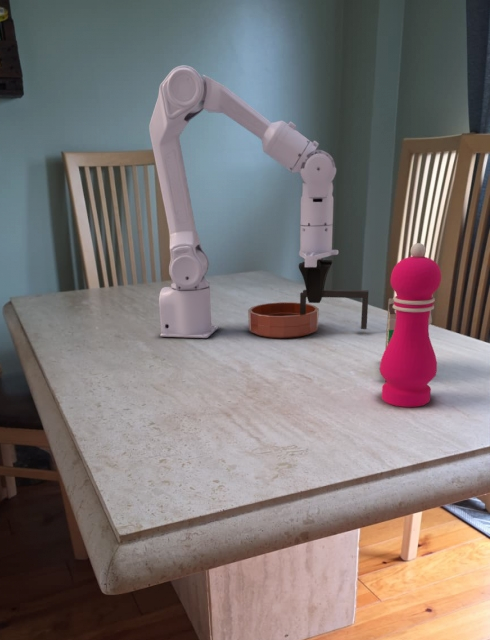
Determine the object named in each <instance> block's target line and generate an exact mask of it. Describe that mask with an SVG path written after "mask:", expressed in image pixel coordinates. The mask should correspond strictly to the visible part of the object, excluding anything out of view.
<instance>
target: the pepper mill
mask: <svg viewBox="0 0 490 640" xmlns="http://www.w3.org/2000/svg"><path fill="white" fill-rule="evenodd" d="M426 251H427V250H426V247H425V245H424V244H423V243H421V242H417V243H414V244H413V245H412V246H411V247H410V255H411V256H408V257H405V258H403V259H401V260H400V261H398V262H397V263H396V264H395V265H394V267H393V269H392V271H391V275H390V286H391V288H392V289H393V291H394V292H395V294H396V295H395V296H394V297H393V298H392V299H393V300H394V305H393V308H394V309H395V310H396V323H395V329H394V332H393V335H392V338H391V340H390V342H389V344H388V346H387V348H386V347H385V348H386V349H384V351H383V354H382V356H381V359H380V365H379V372H380V375H381V376H382V378H383V379H384V381H385V380H386V382H385V383H383V385H382V386H381V399H382V401H383V402H384V403H386V404H388V405H392V406H395V407H403V408H415V407H416V408H417V407H422V406H425V405H427V404H429V402H430V400H431V391H432V388H431V386H430V385H429V383H430V382H431V381H432V380H434V378H435V377H436V375H437V372H438V369H437V368H438V360H437V356H436V353H435V350H434V347H433V344H432V342H431V338H430V332H429V327H430V326H429V325H430V324H429V315H430V311H432V310H434V309H435V305H434V302H435V300H436V298H435V296H433V295H434V293H436V292H437V290H438V289H439V287H440V285H441V282H442V271H441V268H440V266H439V264H438V263H437V262H436V261H435V260H433V259H432V258H430V257H426V256H425V254H426Z"/></svg>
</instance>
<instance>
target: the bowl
mask: <svg viewBox="0 0 490 640" xmlns="http://www.w3.org/2000/svg"><path fill="white" fill-rule="evenodd" d="M247 314H248V315H247V317H248V331H249V332H250V333H251V334H252V333H253V334H255V335H257V336H259V337H263V338H269V339H293V338H301V337H305V336H308V335H310V334H312V333H315V332H317V331H318V329H319V308H318V306H316V305H313V304H311V303H306V314H302V315H300V302H293V301H291V302H289V301H286V302H283V301H282V302H281V301H280V302H268V303H261V304H257V305H253V306H251V307H250V308H248V310H247ZM285 315H295V316H285Z"/></svg>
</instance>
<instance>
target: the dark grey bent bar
mask: <svg viewBox="0 0 490 640" xmlns="http://www.w3.org/2000/svg"><path fill="white" fill-rule="evenodd" d="M369 292H370V291H369V290H364V289H362V290H361V289H324V290H323V291H322V298H338V299H340V298H341V299H343V298H344V299H345V298H346V299H362V300H361V301H362V302H361V303H362V304H361V320H360V329H361V330H367V329H368V328H367V327H368V311H369V294H370V293H369ZM299 303H300V315H302V314H306V304H307V292H306V289H303V290H302V292H300V293H299ZM285 316H295V315H285Z"/></svg>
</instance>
